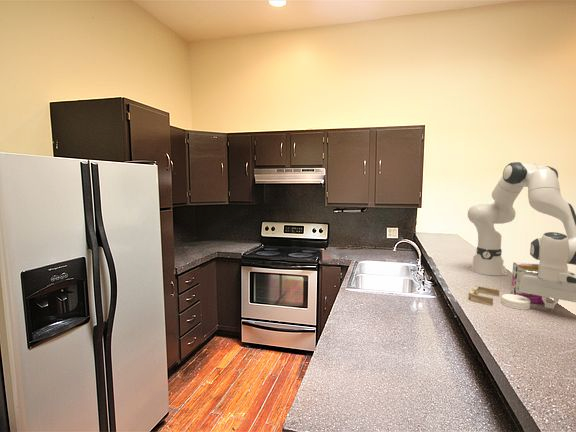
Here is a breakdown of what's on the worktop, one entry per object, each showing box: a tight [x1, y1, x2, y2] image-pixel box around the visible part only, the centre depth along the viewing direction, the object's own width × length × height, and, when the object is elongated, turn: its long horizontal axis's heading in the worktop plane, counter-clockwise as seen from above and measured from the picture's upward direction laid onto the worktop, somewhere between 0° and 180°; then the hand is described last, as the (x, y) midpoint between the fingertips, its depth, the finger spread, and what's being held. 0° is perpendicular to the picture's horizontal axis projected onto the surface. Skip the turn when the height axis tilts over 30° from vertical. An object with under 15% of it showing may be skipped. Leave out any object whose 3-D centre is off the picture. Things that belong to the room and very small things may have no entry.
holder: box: [467, 285, 500, 306], centre depth 141 cm, size 15×9×3 cm, turn 137°
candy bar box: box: [510, 262, 545, 305], centre depth 138 cm, size 11×5×16 cm, turn 71°
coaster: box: [500, 293, 531, 311], centre depth 134 cm, size 10×10×4 cm
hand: (549, 308), depth 126 cm, fingers closed
